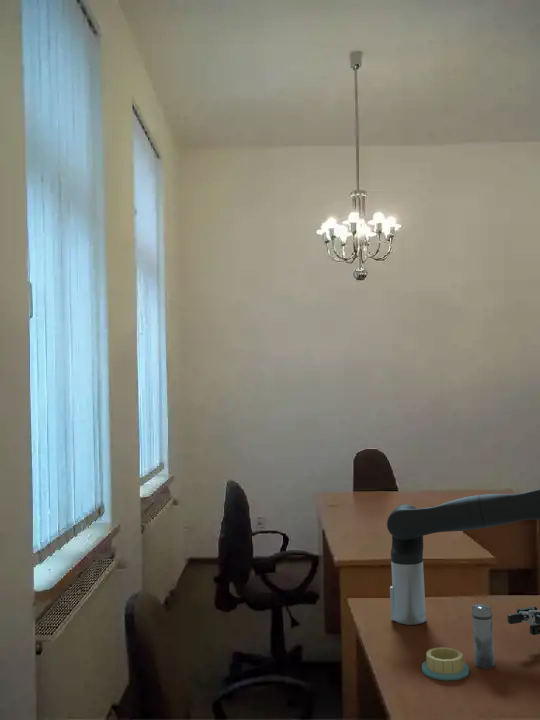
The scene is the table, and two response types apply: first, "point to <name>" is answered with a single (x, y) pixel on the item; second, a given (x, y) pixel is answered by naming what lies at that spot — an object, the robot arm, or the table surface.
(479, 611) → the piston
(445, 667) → the ring collar
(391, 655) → the table surface
